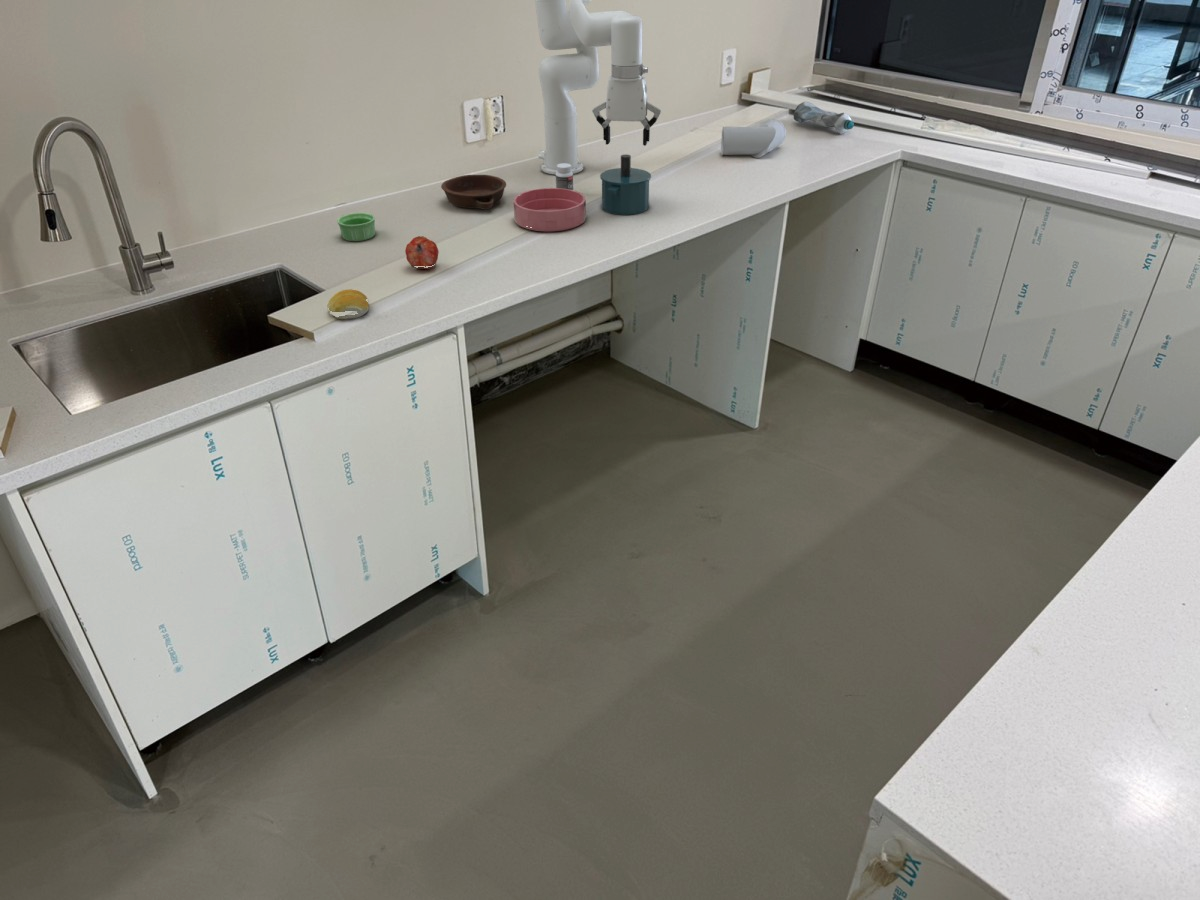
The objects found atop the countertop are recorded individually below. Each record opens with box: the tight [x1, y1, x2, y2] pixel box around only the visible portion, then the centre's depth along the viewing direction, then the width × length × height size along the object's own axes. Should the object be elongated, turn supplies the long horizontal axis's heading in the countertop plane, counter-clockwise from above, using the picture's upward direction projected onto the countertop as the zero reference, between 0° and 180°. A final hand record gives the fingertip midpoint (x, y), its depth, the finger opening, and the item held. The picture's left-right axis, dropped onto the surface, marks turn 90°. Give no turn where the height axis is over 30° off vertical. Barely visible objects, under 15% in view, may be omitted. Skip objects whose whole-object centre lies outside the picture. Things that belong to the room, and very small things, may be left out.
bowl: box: [513, 187, 587, 233], centre depth 216 cm, size 18×18×6 cm
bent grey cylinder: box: [720, 119, 787, 159], centre depth 265 cm, size 18×11×20 cm
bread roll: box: [327, 288, 370, 320], centre depth 173 cm, size 8×9×4 cm
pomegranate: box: [404, 235, 440, 270], centre depth 191 cm, size 7×7×10 cm
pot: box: [601, 180, 650, 216], centre depth 224 cm, size 12×18×8 cm
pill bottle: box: [555, 163, 574, 190], centre depth 232 cm, size 5×5×8 cm
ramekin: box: [337, 212, 376, 242], centre depth 209 cm, size 9×9×4 cm
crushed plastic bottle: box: [793, 101, 855, 135], centre depth 289 cm, size 13×7×25 cm
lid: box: [599, 154, 652, 185], centre depth 220 cm, size 13×13×6 cm
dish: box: [440, 174, 507, 210], centre depth 229 cm, size 18×22×5 cm
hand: (626, 143), depth 216 cm, fingers open, 9 cm apart
